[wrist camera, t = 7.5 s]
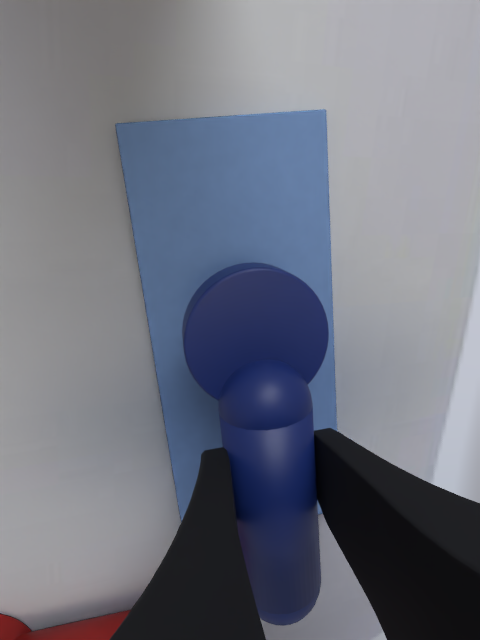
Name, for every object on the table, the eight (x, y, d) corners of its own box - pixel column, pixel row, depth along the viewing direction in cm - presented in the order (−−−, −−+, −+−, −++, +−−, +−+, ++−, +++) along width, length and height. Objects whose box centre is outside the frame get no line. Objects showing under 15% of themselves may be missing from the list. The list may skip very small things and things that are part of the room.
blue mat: (336, 503, 17) (339, 510, 16) (184, 535, 16) (184, 543, 15) (321, 112, 13) (326, 108, 12) (116, 126, 12) (114, 123, 11)
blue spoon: (325, 558, 14) (357, 629, 12) (217, 583, 14) (227, 663, 11) (311, 254, 11) (351, 265, 9) (173, 270, 11) (174, 287, 8)
